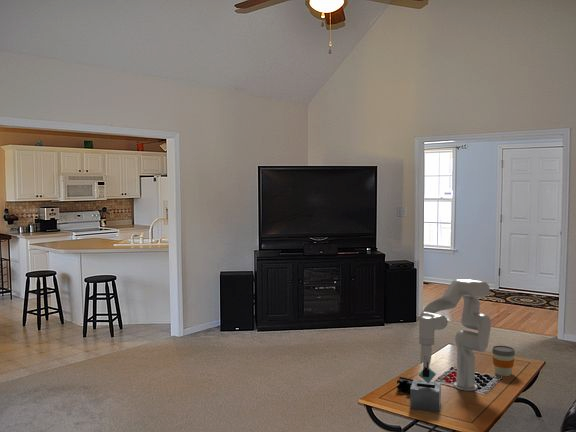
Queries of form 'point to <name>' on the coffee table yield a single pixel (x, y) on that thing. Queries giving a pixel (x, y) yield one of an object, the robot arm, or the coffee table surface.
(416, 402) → the box
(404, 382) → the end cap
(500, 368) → the reusable coffee cup
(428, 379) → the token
